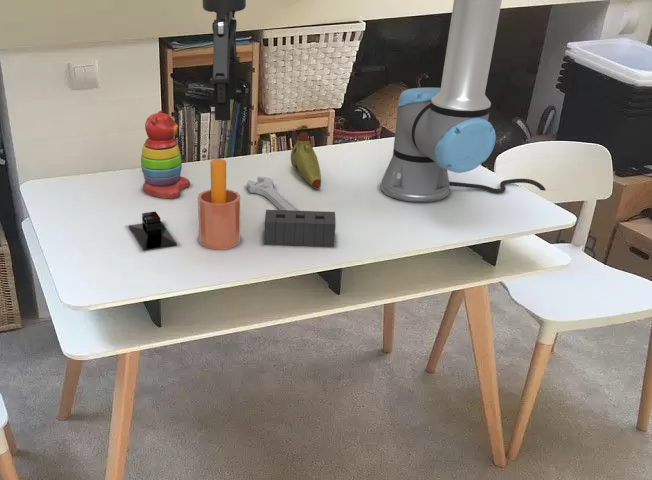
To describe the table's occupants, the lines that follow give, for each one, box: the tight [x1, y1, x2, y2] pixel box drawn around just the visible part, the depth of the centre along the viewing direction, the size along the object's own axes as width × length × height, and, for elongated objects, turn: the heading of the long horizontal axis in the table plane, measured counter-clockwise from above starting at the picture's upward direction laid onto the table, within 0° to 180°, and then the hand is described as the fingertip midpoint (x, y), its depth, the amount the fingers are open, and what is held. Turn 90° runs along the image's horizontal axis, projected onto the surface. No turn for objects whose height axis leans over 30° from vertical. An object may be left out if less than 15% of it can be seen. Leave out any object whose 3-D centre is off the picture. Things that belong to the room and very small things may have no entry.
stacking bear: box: [140, 109, 191, 200], centre depth 174 cm, size 11×10×18 cm
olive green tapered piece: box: [290, 131, 322, 190], centre depth 181 cm, size 20×5×10 cm, turn 11°
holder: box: [263, 209, 337, 248], centre depth 153 cm, size 14×6×5 cm, turn 84°
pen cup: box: [197, 188, 241, 250], centre depth 152 cm, size 8×8×10 cm
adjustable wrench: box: [247, 176, 301, 211], centre depth 171 cm, size 25×6×2 cm, turn 16°
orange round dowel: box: [209, 158, 227, 204], centre depth 150 cm, size 3×3×16 cm
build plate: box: [128, 211, 178, 252], centre depth 156 cm, size 12×7×5 cm, turn 19°
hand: (226, 109), depth 142 cm, fingers open, 13 cm apart
